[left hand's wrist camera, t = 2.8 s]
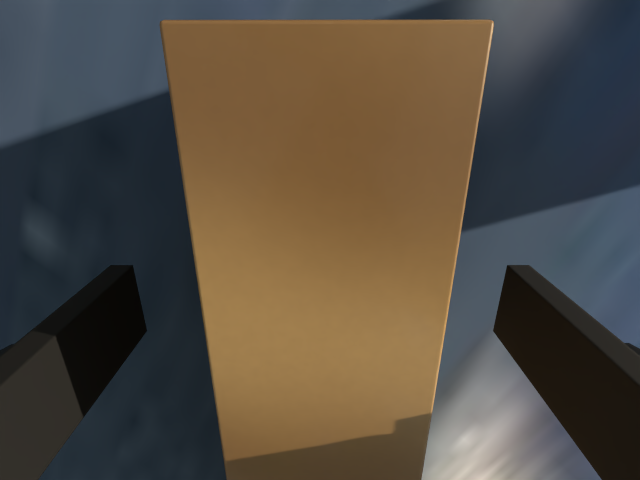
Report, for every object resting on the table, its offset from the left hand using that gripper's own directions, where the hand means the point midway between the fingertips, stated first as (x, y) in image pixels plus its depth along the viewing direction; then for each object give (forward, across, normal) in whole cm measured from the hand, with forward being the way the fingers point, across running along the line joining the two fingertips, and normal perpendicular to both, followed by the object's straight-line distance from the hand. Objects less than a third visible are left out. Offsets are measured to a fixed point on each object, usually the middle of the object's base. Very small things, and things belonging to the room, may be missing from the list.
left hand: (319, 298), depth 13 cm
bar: (+3, 0, -29) cm, 29 cm away
